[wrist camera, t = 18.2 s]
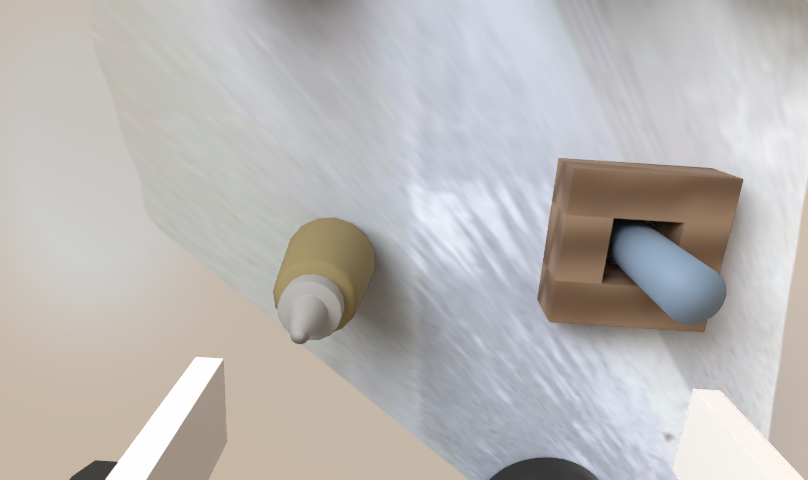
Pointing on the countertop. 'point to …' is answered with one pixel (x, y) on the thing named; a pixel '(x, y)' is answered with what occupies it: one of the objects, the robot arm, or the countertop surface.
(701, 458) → the robot arm
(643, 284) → the peg
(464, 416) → the countertop surface
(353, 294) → the squeeze bottle
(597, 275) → the socket block
